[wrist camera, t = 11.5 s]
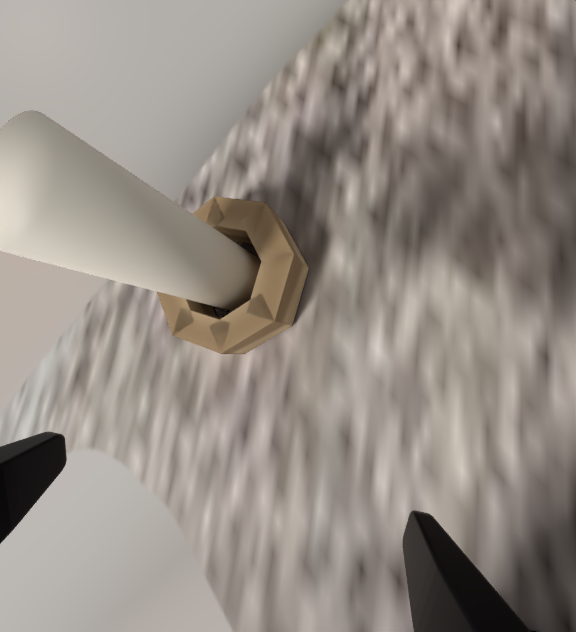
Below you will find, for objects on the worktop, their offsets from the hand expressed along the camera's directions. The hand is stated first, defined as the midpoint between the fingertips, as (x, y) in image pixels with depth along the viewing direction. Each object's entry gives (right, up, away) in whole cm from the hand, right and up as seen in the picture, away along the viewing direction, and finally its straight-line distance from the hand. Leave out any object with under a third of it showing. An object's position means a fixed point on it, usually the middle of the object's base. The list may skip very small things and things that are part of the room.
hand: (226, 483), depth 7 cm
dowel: (-2, +7, +15) cm, 16 cm away
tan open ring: (-2, +7, +15) cm, 16 cm away
